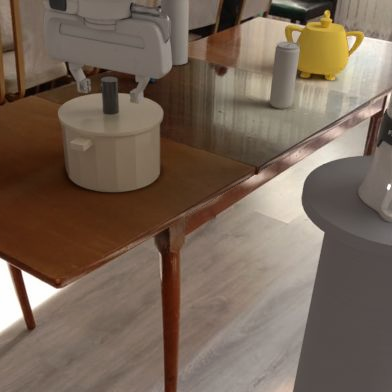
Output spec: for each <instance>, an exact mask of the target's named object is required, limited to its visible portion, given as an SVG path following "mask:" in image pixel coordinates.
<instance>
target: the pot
mask: <svg viewBox="0 0 392 392" xmlns="http://www.w3.org/2000/svg"><path fill="white" fill-rule="evenodd" d="M60 126H61V127H60V128H61V136H62V145H63V154H64V164H65V170H66V174H67V177H68V178H69V180H70V181H71V182H73V183H74V184H75V185H77V186H79V187H81V188H84V189H87V190H90V191H94V192H102V193H124V192H130V191H131V192H132V191H135V190H139V189H142V188H145V187H147V186H149V185H151V184H153V183H154V182H156V180H157V179H158V178H159V176H160V174H161V169H162V168H161V167H162V122H161V123H160V124H159V125H158V126H156V127H155V128H153V129H151V130H148V131H146V132H142V133H139V134H134V135H128V136H117V137H104V136H93V135H87V134H82V133H79V132H76V131H73V130H71V129H68V128H67V127H65V126H64V125H63V124H61V123H60Z"/></svg>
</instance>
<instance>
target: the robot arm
mask: <svg viewBox="0 0 392 392" xmlns="http://www.w3.org/2000/svg"><path fill="white" fill-rule="evenodd" d="M43 6H44V7H45V9H46V12H45V14H44V17H43V37H44V46H45V51H46V52H47V54H48V56H49V58H50V59H52V60H55V61H61V62H67V63H68V70H69V71H70V73H71V75H72V76H73V78H74V80H75V82H76V88H77V89H76V90H77V92H78V93H81V94H89V93H90V92H91V90H92V86H91V84H92V83H91V82H92V81H91V79H90V78H87V77H86V74H85V72H84V70H83V67H84V66H87V67H92V68H98V69H103V70H109V71H115V72H119V73H123V74H128V75H134V76H135V82H136V83H138V84H137V86H136V88H133V89H132V90H130V91H129V94H130V97H131V98H130V102H131V103H135V104H140V103H142V102H143V97H144V90H145V89H146V87H147V85H148V84H149V82H150V78H155V80H160V79H162V78H164V77H165V76H167V75H168V74H169V73H170V71H171V70H172V67H173V65H172V53H171V44H170V34H171V22H170V19H169V18H168V16H167V15H166V14H165V13H164V12H163V11H162V9H161V7H158V6H148V5H144V4H139V3H137V0H43ZM161 15H163V16H164V17H163V16H161ZM373 156H374V157H373V160H372V162H371V165H370V167H369V169H368V172H367V174H366V176H365V178H364V180H363V181H362V183H361V185H360V186H359V188H358V195H359V197H360V198H361V200H362V201H363V202H364V203H365V204H367V205H368V206H369V207H371V208H373V209H374V210H376V211H377V212H378V213H379V214H380V216H381V217H382V218H383V219H384V220H385V221H387V222H391V223H392V91H391V93H390V96H389V101H388V105H387V108H385V110H384V112H383V114H382V116H381V119H380V123H379V127H378V131H377V136H376V149H375V152H374V154H373Z"/></svg>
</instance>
